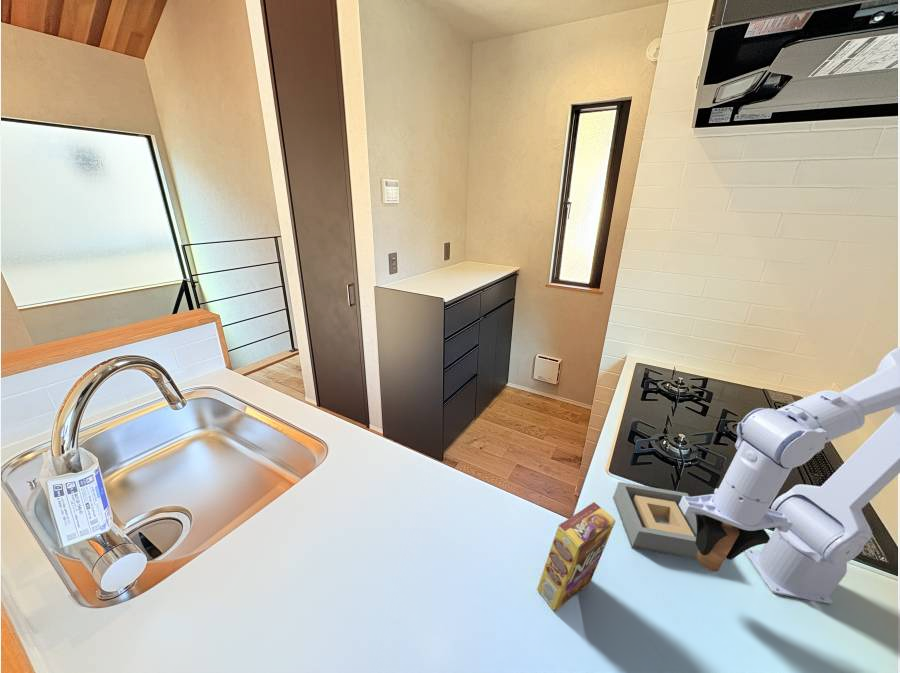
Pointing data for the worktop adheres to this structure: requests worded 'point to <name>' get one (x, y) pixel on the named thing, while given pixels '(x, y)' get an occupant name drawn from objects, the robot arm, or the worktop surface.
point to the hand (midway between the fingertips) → (713, 551)
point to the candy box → (575, 555)
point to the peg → (719, 549)
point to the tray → (656, 520)
